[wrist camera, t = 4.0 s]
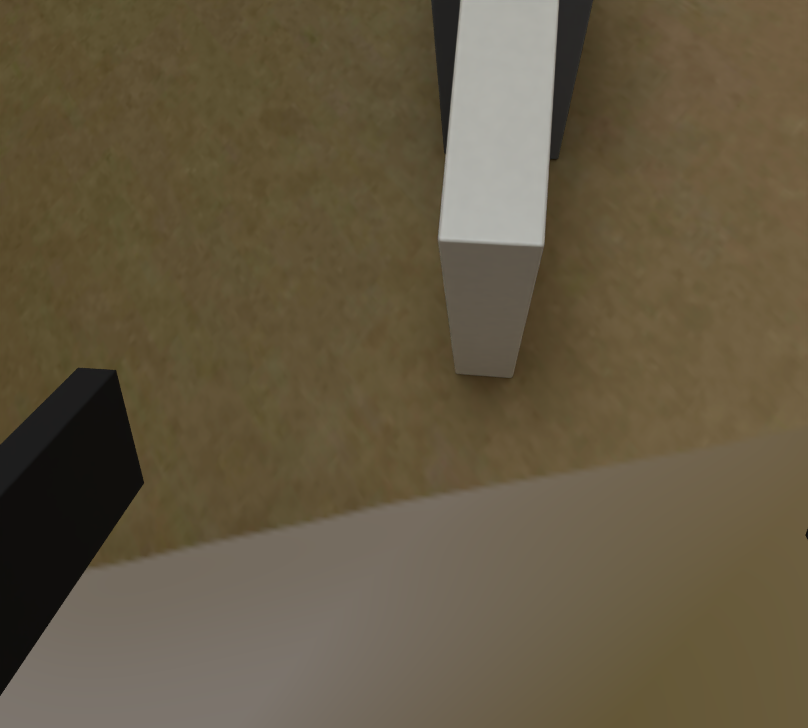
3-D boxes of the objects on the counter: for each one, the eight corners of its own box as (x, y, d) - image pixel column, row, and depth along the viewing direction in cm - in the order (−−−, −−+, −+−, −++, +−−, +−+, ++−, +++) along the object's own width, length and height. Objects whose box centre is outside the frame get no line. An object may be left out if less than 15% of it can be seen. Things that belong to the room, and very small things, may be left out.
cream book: (455, 374, 32) (437, 240, 17) (471, 185, 33) (467, -80, 19) (512, 378, 31) (544, 246, 17) (525, 188, 33) (564, -80, 19)
